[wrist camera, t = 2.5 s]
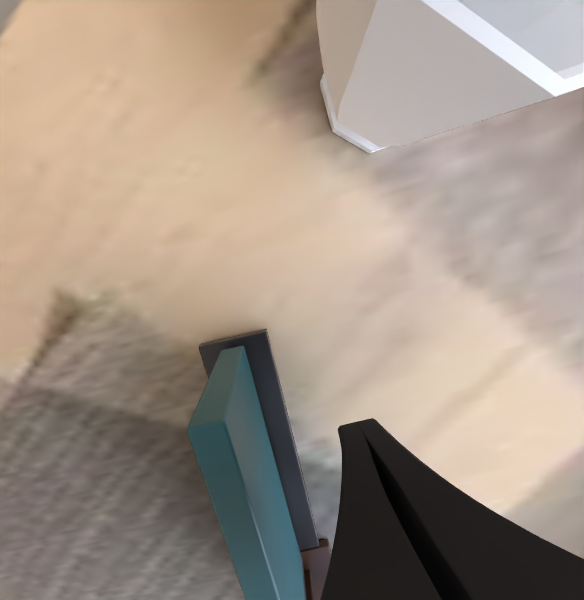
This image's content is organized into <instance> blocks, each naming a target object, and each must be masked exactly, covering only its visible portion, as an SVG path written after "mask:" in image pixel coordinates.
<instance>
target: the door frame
mask: <svg viewBox="0 0 584 600" xmlns="http://www.w3.org/2000/svg"><path fill="white" fill-rule="evenodd" d="M238 346H244V348H245V351H246V355H247V359H248V362H249V366H250V370H251V374H252V377H253V381H254V385H255V388H256V392H257V396H258V399H259V403H260V407H261V410H262V414H263V418H264V422H265V425H266V429H267V433H268V436H269V440H270V444H271V447H272V451H273V455H274V459H275V462H276V466H277V470H278V473H279V477H280V481H281V484H282V488H283V492H284V496H285V499H286V503H287V507H288V510H289V514H290V518H291V521H292V525H293V529H294V532H295V536H296V540H297V544H298V547H299V551H300V555H301V561H302V572H303V583H304V594H305V600H320V599H321V596H322V592H323V588H324V584H325V580H326V576H327V572H328V568H329V564H330V559H331V550H330V546H329V542H328V539H324V540H320V541H319V539H318V535H317V531H316V527H315V523H314V519H313V515H312V511H311V507H310V503H309V499H308V495H307V491H306V486H305V482H304V478H303V474H302V470H301V466H300V462H299V458H298V454H297V450H296V446H295V442H294V438H293V434H292V430H291V426H290V421H289V417H288V413H287V409H286V405H285V401H284V397H283V393H282V389H281V385H280V381H279V377H278V373H277V369H276V365H275V361H274V356H273V352H272V348H271V344H270V340H269V336H268V332H267V329H264V330H260V331H255V332H251V333H246V334H242V335H237V336H233V337H228V338H224V339H219V340H215V341H211V342H206V343H202V344H200V346H199V350H200V353H201V356H202V360H203V363H204V366H205V369H206V372H207V376H208V379H209V377H210V375H211V373H212V370H213V368H214V366H215V364H216V361H217V359H218V357H219V354H220V352H221V351H222V350H225V349H229V348H234V347H238Z"/></svg>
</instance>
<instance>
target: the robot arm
mask: <svg viewBox="0 0 584 600" xmlns="http://www.w3.org/2000/svg"><path fill="white" fill-rule="evenodd" d="M338 433H339V438H340V443H341V448H342V482H341V495H340V506H339V514H338V521H337V527H336V533H335V539H334V544H333V549H332V554H331V559H330V564H329V568H328V572H327V576H326V580H325V584H324V588H323V592H322V596H321V599H320V600H584V559H582V558H580V557H578V556H576V555H574V554H572V553H570V552H568V551H566V550H564V549H562V548H560V547H558V546H556V545H554V544H552V543H550V542H548V541H546V540H544V539H542V538H540V537H538V536H536V535H534V534H533V533H531V532H529V531H527V530H525V529H524V528H522V527H520V526H518V525H517V524H515V523H513V522H511V521H509V520H508V519H506V518H504V517H502V516H500V515H499V514H497V513H495V512H494V511H492V510H490V509H489V508H487V507H486V506H484V505H482V504H481V503H479V502H477V501H476V500H474V499H473V498H471V497H470V496H468V495H467V494H465V493H464V492H462V491H461V490H459V489H458V488H456V487H455V486H454V485H452V484H451V483H449V482H448V481H447V480H445V479H444V478H442V477H441V476H440V475H438V474H437V473H436V472H434V471H433V470H432V469H430V468H429V467H428V466H427V465H425V464H424V463H423V462H422V461H420V460H419V459H418V458H417V457H416V456H414V455H413V454H412V453H411V452H410V451H408V450H407V449H406V448H405V447H404V446H403V445H401V444H400V443H399V442H398V441H397V440H396V439H395V438H394V437H393V436H392V435H390V434H389V433H388V432H387V431H386V430H385V429H384V428H383V427H382V426H381V425H380V424H379V423H378V422H377V421H376V420H375V419H373V418H372V419H367V420H363V421H359V422H354V423H350V424H346V425H341V426H340V427H339V428H338Z"/></svg>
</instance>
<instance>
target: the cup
mask: <svg viewBox="0 0 584 600" xmlns="http://www.w3.org/2000/svg"><path fill="white" fill-rule="evenodd" d="M316 18H317V26H318V34H319V42H320V50H321V57H322V65H323V69H324V74H323V76H322V78H321V81H320V88H321V91H322V95H323V99H324V103H325V106H326V110H327V114H328V118H329V121H330V125H331V129H332V132H334V133H335V134H337V135H339V136H340V137H342V138H344V139H345V140H347V141H349V142H350V143H352V144H354V145H356V146H357V147H359V148H361V149H362V150H364V151H366V152H367V153H369V154H370V153H373V152H376V151H378V150H381V149H384V148H387V147H396V146H406V145H409V144H412V143H415V142H418V141H420V140H423V139H426V138H429V137H432V136H435V135H438V134H441V133H444V132H446V131H449V130H453V129H456V128H459V127H463V126H466V125H469V124H473V123H476V122H479V121H483V120H486V119H489V118H492V117H495V116H498V115H501V114H504V113H507V112H510V111H513V110H516V109H519V108H522V107H525V106H528V105H531V104H534V103H537V102H541V101H544V100H547V99H550V98H553V97H556V96H558V95H561V94H564V93H567V92H570V91H573V90H576V89H579V88H582V87H584V0H317V1H316Z"/></svg>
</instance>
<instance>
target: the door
mask: <svg viewBox="0 0 584 600" xmlns="http://www.w3.org/2000/svg"><path fill="white" fill-rule="evenodd" d="M187 433H188V436H189V438H190V441H191V444H192V447H193V450H194V453H195V456H196V458H197V461H198V464H199V467H200V470H201V473H202V476H203V479H204V481H205V484H206V487H207V490H208V493H209V496H210V499H211V501H212V504H213V507H214V510H215V513H216V516H217V519H218V522H219V524H220V527H221V530H222V533H223V536H224V539H225V542H226V544H227V547H228V550H229V553H230V556H231V559H232V562H233V564H234V567H235V570H236V573H237V576H238V579H239V582H240V585H241V587H242V590H243V593H244V596H245V599H246V600H305V594H304V583H303V572H302V561H301V555H300V551H299V547H298V544H297V540H296V536H295V532H294V529H293V525H292V521H291V518H290V514H289V510H288V507H287V503H286V499H285V496H284V492H283V488H282V484H281V481H280V477H279V473H278V470H277V466H276V462H275V459H274V455H273V451H272V447H271V444H270V440H269V436H268V433H267V429H266V425H265V422H264V418H263V414H262V410H261V407H260V403H259V399H258V396H257V392H256V388H255V385H254V381H253V377H252V374H251V370H250V366H249V362H248V359H247V355H246V351H245V348H244V346H238V347H234V348H229V349H225V350H222V351H221V352H220V354H219V357H218V359H217V361H216V364H215V366H214V368H213V370H212V373H211V375H210V377H209V380H208V382H207V384H206V386H205V389H204V391H203V393H202V396H201V398H200V400H199V402H198V405H197V407H196V409H195V411H194V414H193V416H192V418H191V421H190V423H189V425H188V427H187Z"/></svg>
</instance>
